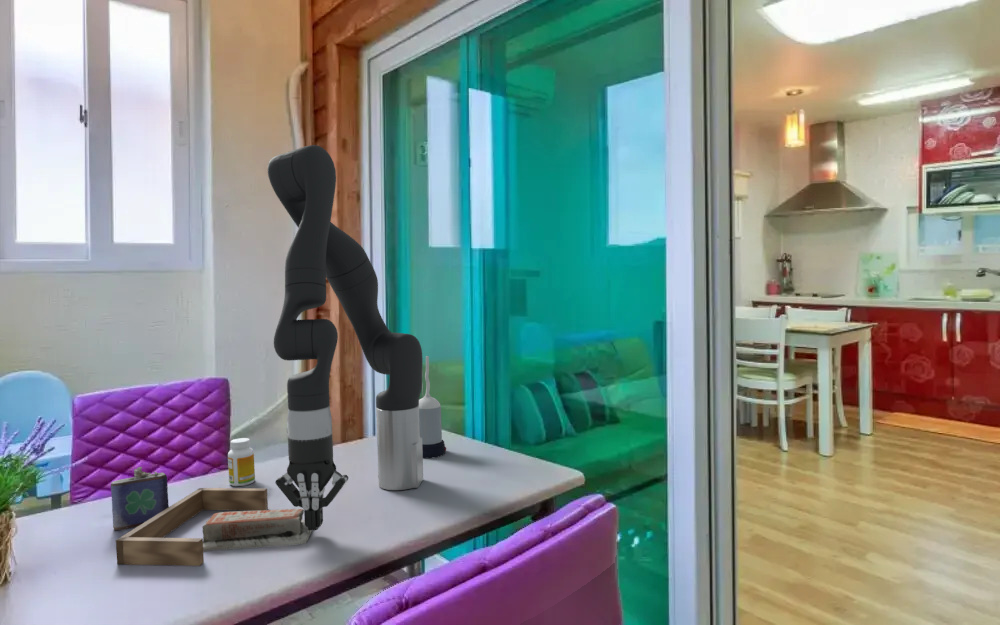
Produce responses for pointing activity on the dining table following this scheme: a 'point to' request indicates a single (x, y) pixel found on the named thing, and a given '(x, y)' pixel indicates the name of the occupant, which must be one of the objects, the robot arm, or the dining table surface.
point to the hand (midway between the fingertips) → (314, 528)
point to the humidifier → (430, 422)
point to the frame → (148, 537)
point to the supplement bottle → (241, 463)
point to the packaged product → (255, 529)
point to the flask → (138, 498)
